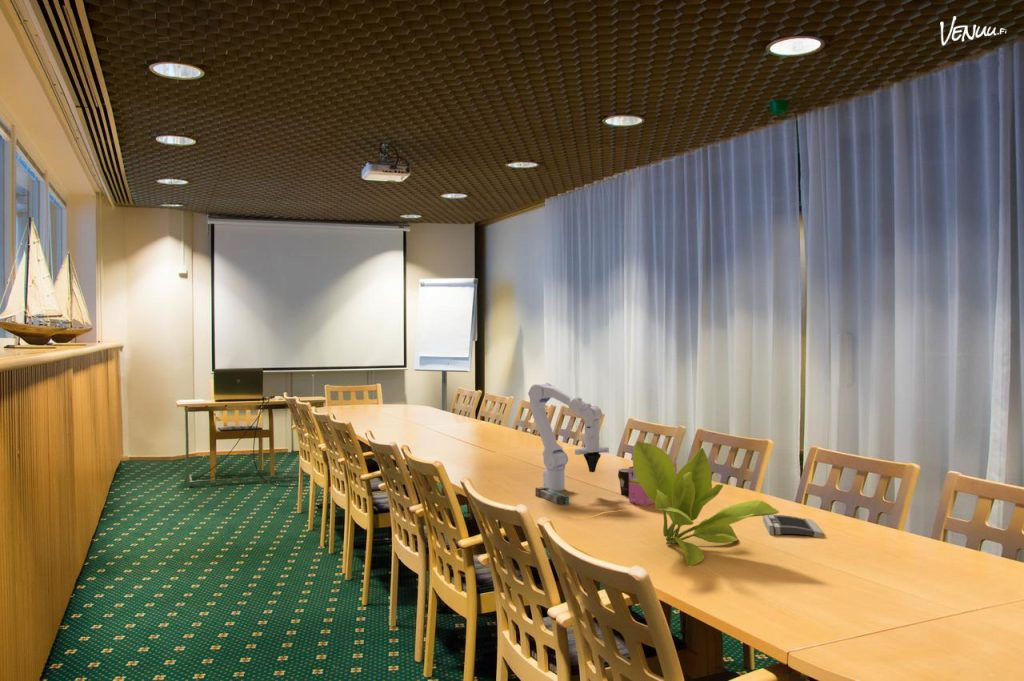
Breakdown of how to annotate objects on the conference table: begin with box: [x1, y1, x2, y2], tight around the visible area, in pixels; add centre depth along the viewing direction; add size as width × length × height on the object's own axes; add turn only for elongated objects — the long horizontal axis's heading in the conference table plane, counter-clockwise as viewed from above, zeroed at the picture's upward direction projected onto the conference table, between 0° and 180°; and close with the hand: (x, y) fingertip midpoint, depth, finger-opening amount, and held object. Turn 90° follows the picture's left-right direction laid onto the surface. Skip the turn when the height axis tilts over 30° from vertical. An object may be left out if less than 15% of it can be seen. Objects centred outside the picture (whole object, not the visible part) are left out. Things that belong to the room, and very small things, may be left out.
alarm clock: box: [762, 514, 824, 538], centre depth 245 cm, size 17×5×16 cm
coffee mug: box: [617, 467, 629, 497], centre depth 299 cm, size 12×9×10 cm
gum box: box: [628, 461, 678, 506], centre depth 291 cm, size 24×8×14 cm, turn 137°
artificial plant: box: [632, 440, 780, 567], centre depth 224 cm, size 42×43×30 cm
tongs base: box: [534, 486, 565, 506], centre depth 288 cm, size 19×4×4 cm, turn 26°
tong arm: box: [547, 490, 570, 505], centre depth 286 cm, size 14×2×3 cm, turn 26°
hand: (592, 471), depth 298 cm, fingers closed
